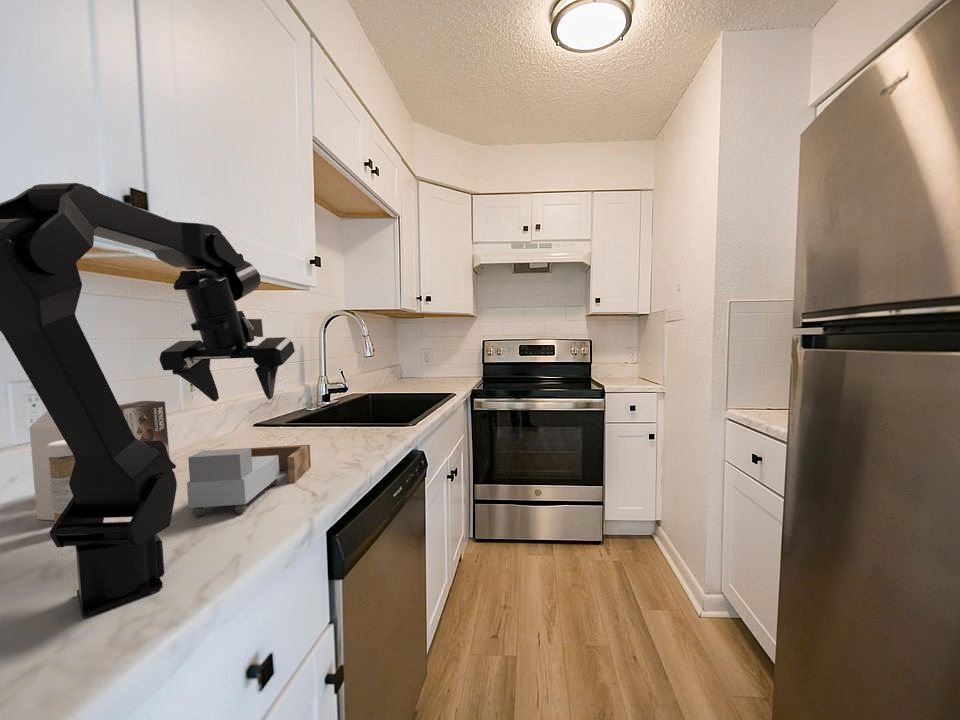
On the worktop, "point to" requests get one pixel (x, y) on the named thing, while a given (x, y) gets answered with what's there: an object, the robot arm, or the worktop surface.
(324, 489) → the worktop surface
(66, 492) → the sprinkles bottle
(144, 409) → the coffee box
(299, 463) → the bay
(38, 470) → the milk carton
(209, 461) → the trolley
